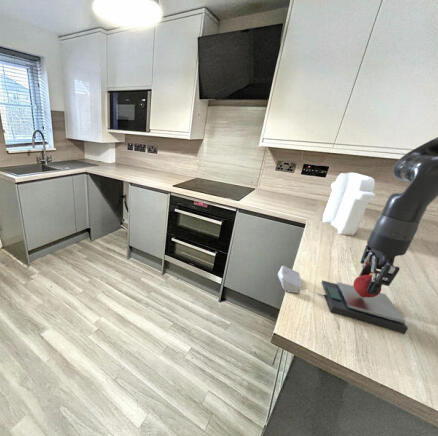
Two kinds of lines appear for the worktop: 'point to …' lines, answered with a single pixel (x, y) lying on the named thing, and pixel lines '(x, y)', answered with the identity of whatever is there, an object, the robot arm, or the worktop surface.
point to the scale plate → (370, 303)
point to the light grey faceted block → (289, 280)
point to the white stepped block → (349, 201)
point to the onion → (363, 285)
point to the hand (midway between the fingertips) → (366, 286)
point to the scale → (340, 308)
